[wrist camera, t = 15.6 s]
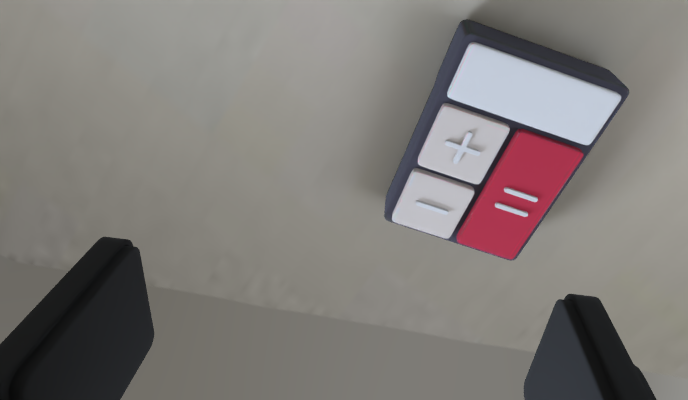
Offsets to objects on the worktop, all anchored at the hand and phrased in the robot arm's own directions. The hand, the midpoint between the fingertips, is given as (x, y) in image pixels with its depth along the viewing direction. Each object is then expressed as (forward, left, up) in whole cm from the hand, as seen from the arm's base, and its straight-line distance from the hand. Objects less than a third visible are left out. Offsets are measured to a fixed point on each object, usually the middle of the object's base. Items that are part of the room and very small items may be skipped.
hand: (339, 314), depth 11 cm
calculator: (-9, +6, -26) cm, 29 cm away
